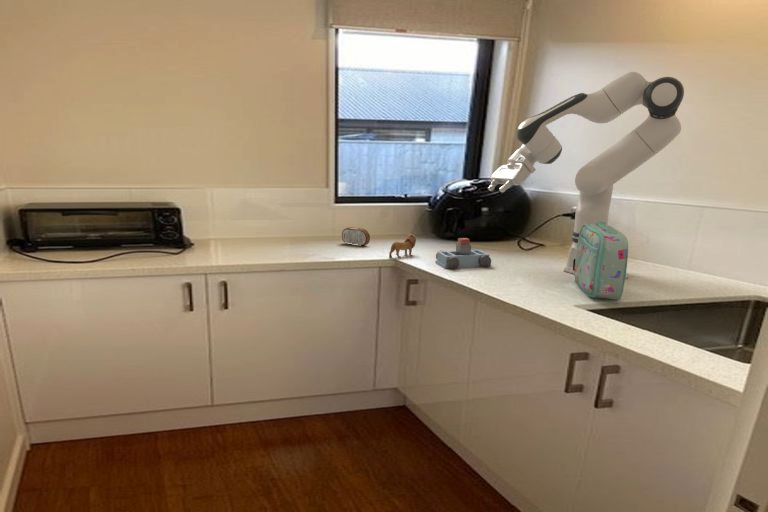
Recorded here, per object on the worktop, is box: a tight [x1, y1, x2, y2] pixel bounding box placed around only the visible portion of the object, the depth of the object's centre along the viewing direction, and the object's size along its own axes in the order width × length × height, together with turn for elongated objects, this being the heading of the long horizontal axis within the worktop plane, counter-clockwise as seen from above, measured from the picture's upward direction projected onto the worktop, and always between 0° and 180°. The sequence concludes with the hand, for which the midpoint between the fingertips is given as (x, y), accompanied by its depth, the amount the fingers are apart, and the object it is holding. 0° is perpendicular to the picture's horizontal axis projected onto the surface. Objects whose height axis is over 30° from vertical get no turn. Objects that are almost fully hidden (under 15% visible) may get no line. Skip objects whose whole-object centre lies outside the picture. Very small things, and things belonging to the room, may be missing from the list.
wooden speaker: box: [341, 226, 371, 246], centre depth 226 cm, size 15×3×8 cm, turn 58°
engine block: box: [455, 237, 472, 256], centre depth 185 cm, size 4×4×9 cm
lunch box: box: [573, 221, 629, 301], centre depth 147 cm, size 27×10×21 cm, turn 171°
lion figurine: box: [388, 233, 417, 259], centre depth 200 cm, size 15×5×9 cm, turn 132°
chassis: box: [435, 248, 492, 270], centre depth 186 cm, size 14×19×4 cm
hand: (495, 190), depth 183 cm, fingers open, 8 cm apart
